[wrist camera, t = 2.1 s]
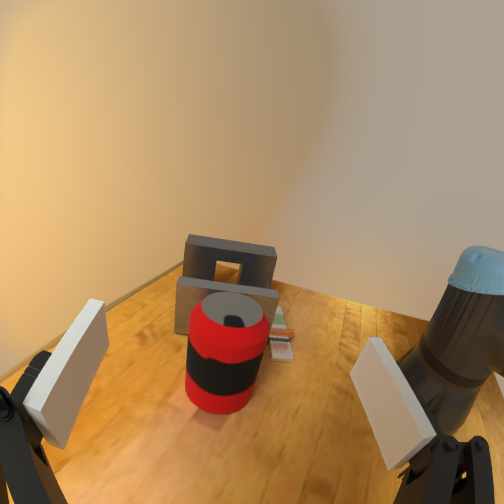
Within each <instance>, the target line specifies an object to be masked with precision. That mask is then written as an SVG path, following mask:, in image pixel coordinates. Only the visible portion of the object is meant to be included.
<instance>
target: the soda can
mask: <svg viewBox="0 0 504 504" xmlns="http://www.w3.org/2000/svg"><path fill="white" fill-rule="evenodd" d="M269 332H270V323H269V321H268V318H267V317H266V315H265V314H264V312H263V310H262V308H261V306H260V305H259V304H258V303H257V302H256V301H255V300H253V299H252V298H250V297H248V296H245V295H243V294H239V293H234V292H217V293H213V294H210V295H208V296H207V297H206V298H204V300H203V301H201V302H200V303H199V304H197V305H196V306H195V307H194V308H193V309H192V311H191V314H190V320H189V332H188V346H187V362H186V380H185V389H186V393H187V396H188V397H189V399H190V400H191V401H192V402H193V403H194V404H195V405H196V406H197V407H199V408H200V409H203V410H205V411H207V412H211V413H216V414H228V413H232V412H235V411H238V410H240V409H241V408H243V407H244V406H245V405H246V404H247V402H248V400H249V399H250V395H251V392H252V389H253V386H254V383H255V379H256V376H257V373H258V369H259V366H260V363H261V359H262V356H263V353H264V349H265V346H266V342H267V339H268V335H269Z"/></svg>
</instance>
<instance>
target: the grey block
mask: <svg viewBox="0 0 504 504" xmlns="http://www.w3.org/2000/svg"><path fill="white" fill-rule="evenodd" d="M217 292H234V293H239V294H243V295H245V296H248V297H250V298H252V299H253V300H255V301H256V302H257V303H258V304H259V305H260V306H261V308H262V310H263V312H264V314H265V315H266V317H267V318H268V321H269V323H270V332H269V335H272V336H283V337H293V334H294V332H293V330H292V329H281V328H271V327H272V324H273V320H274V316H275V313H276V309H277V306H278V302H279V294H278V290H274V289H266V288H259V287H251V286H244V285H237V284H230V283H223V282H216V281H209V280H202V279H196V278H189V277H183V276H179V279H178V282H177V288H176V304H175V326H174V333H179V334H185V335H188V332H189V320H190V314H191V311H192V309H193V308H194V307H195V306H196V305H197V304H199V303H200V302H201V301H203V300H204V298H206V297H207V296H208V295H210V294H213V293H217ZM269 335H268V338H269ZM267 341H268V339H267ZM266 344H267V342H266Z"/></svg>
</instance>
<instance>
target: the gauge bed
mask: <svg viewBox="0 0 504 504" xmlns="http://www.w3.org/2000/svg"><path fill="white" fill-rule="evenodd" d="M276 260H277V255H276V252H275V249H274V247H270V246H263V245H256V244H251V243H244V242H237V241H230V240H224V239H217V238H211V237H204V236H198V235H191V234H189V236H188V239H187V241H186V243H185V252H184V262H183V274H182V276H183V277H189V278H196V279H202V280H209V281H214V274H215V267H216V261H224V262H231V263H238V264H240V268H239V273H238V278H237V285H244V286H251V287H259V288H266V289H270V285H271V281H272V277H273V273H274V268H275V265H276ZM271 328H281V329H287V328H286V323H285V318H284V315H283V311H282V307H280V306H277V309H276V313H275V316H274V320H273V324H272V327H271ZM268 340H269V347H270V354H271V360H272V361H279V362H293V361H294V357H293V353H292V349H291V344H290V339H289V337H283V336H272V335H269V338H268Z"/></svg>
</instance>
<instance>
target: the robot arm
mask: <svg viewBox="0 0 504 504" xmlns="http://www.w3.org/2000/svg"><path fill="white" fill-rule="evenodd" d="M448 282H449V284H448V286H447V288H446V290H445V293H444V295H443V297H442V299H441V301H440V303H439V305H438V307H437V309H436V311H435V313H434V315H433V317H432V319H431V320H430V322H429V324H428V326H427V328H426V330H425V332H424V333H423V335H422V337H421V339H420V340H419V342H418V343H417V344H416V345H415V346H414V347H413V348H412V349H410V350H409V351H408V352H407V353H406V354H405V355H404V356H402V357H401V358H400V359H399V360H398V361H396V362H395V360H394V358H393V357H392V355H391V353H390V352H389V350H388V348H387V347H386V345H385V344H384V342H383V340H382V339H381V337H369V338H368V340H367V342H366V344H365V346H364V348H363V350H362V351H361V353H360V355H359V357H358V359H357V361H356V363H355V364H354V366H353V368H352V370H351V372H350V373H349V374H350V377H351V379H352V381H353V384H354V386H355V388H356V391H357V393H358V396H359V398H360V401H361V403H362V406H363V408H364V410H365V413H366V415H367V418H368V420H369V423H370V425H371V428H372V431H373V433H374V436H375V438H376V441H377V443H378V446H379V449H380V451H381V454H382V457H383V459H384V462H385V465H386V467H387V470H388V471H390V470H394V469H397V468H401V467H402V466H403V465H404V464H406V463H407V462H408V461H409V463H410V466H409V467H408V468H406V469H405V470H404V471H403V472H402V473H400V474H399V476H398V477H397V478H400V477H401V476H403V475H404V474H405V475H404V477H403V478H402V480H403V481H402V483H401V486H400V488H399V491H398V493H397V496H396V498H395V501H394V503H393V504H495V501H494V485H493V474H492V466H491V458H490V452H489V446H488V443H487V441H486V440H485V439H484V438H483V437H481V436H474V437H473V438H472V439H471V440H470V441H469V442H458V441H457V440H456V439H455V438H454V437H453V436H452V435H453V434H454V433H455V432H456V431H457V430H458V429H459V428H460V427H461V426H462V425H463V423H464V422H465V421H466V419H467V417H468V415H469V413H470V410H471V408H472V406H473V404H474V401H475V399H476V397H477V394H478V392H479V390H480V387H481V386H482V384H483V383H484V382H485V380H486V379H487V378H488V376H489V375H490V374H491V372H492V371H494V372H496V373H498V374H499V375H501V376H503V377H504V252H503V251H499V250H496V249H492V248H488V247H484V246H471V247H468V248H467V249H465V250H464V251H463V252H462V254H461V256H460V258H459V260H458V262H457V265H456V267H455V269H454V271H453V273H452V274H451V275H450V277H449V279H448ZM108 347H109V340H108V332H107V323H106V314H105V303H104V302H103V301H99V300H94V299H90V300H89V301H88V302H87V304H86V305H85V307H84V308H83V309H82V311H81V312H80V313H79V315H78V316H77V318H76V319H75V320H74V322H73V323H72V325H71V326H70V328H69V329H68V331H67V332H66V333H65V335H64V336H63V338H62V339H61V341H60V342H59V344H58V345H57V347H56V348H55V350H54V351H53V353H50V352H47V351H44V350H43V351H41V352H40V353H38V354H37V355H36V356H34V358H33V359H32V361H31V362H30V364H29V366H28V367H27V368H26V370H25V371H24V374H22V376H21V377H20V379H19V381H18V382H17V384H16V385H15V387H14V389H13V390H12V392H11V394H9V392H8V391H7V390H6V389H5V388H4V387H2V386H0V504H9V499H8V493H7V486H6V482H7V485H8V488H9V490H10V493H11V496H12V498H13V501H14V503H15V504H68V503H67V501H66V499H65V497H64V495H63V493H62V491H61V489H60V487H59V485H58V483H57V480H56V478H55V476H54V474H53V471H52V469H51V467H50V464H49V462H48V459H47V457H46V454H45V452H44V449H43V446H42V444H41V440H42V438H43V437H44V438H45V440H46V441H47V442H48V443H49V444H51V445H53V446H56V447H58V448H60V449H63V450H64V449H65V447H66V444H67V441H68V438H69V436H70V433H71V431H72V428H73V426H74V423H75V421H76V418H77V416H78V413H79V411H80V408H81V406H82V404H83V401H84V399H85V397H86V394H87V392H88V390H89V387H90V385H91V383H92V381H93V379H94V376H95V374H96V372H97V370H98V368H99V366H100V363H101V361H102V359H103V357H104V355H105V353H106V351H107V349H108ZM465 472H466V477H465V478H464V479H462V474H464V473H465Z"/></svg>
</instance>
